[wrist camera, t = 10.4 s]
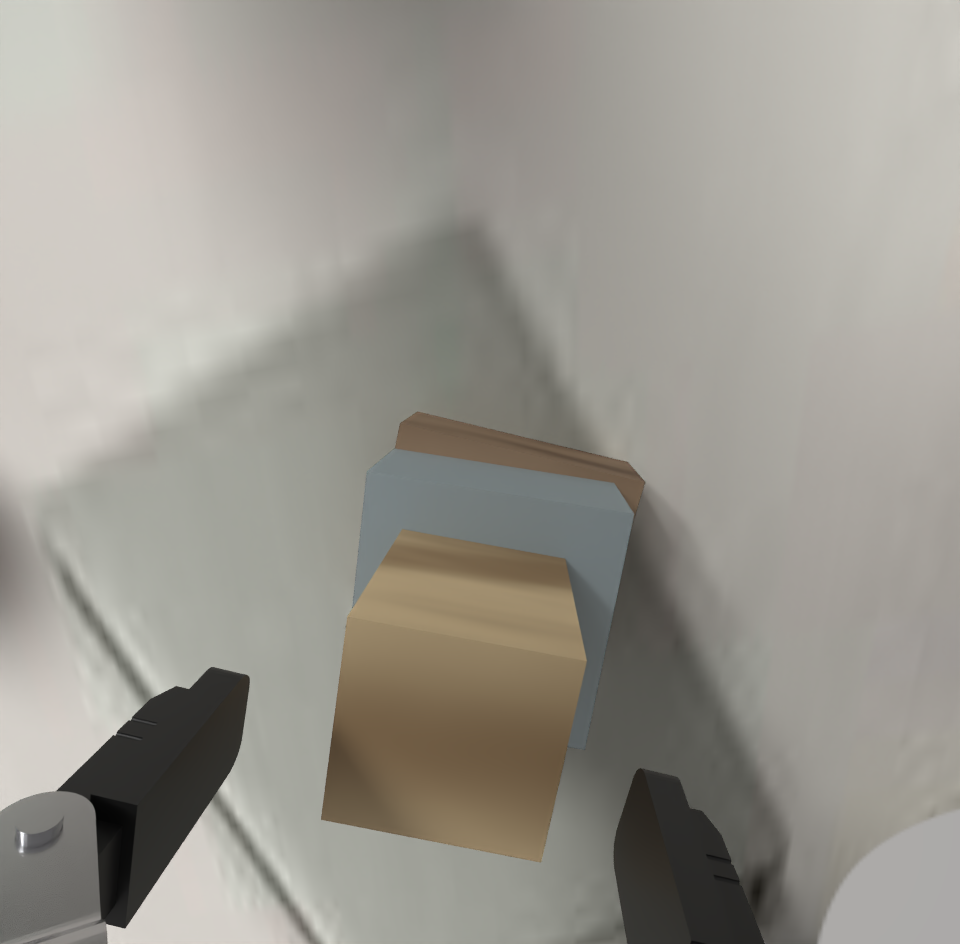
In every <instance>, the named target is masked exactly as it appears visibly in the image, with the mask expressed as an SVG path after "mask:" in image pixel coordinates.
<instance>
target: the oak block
mask: <svg viewBox="0 0 960 944" xmlns="http://www.w3.org/2000/svg"><path fill="white" fill-rule="evenodd" d="M586 663H587V659H586V654H585V650H584V645H583V640H582V635H581V631H580V626H579V621H578V616H577V612H576V607H575V602H574V597H573V593H572V588H571V583H570V578H569V574H568V569H567V564H566V560H565V559H564V558H559V557H553V556H548V555H542V554H537V553H531V552H526V551H520V550H515V549H509V548H504V547H498V546H493V545H487V544H482V543H476V542H471V541H465V540H460V539H454V538H449V537H443V536H438V535H432V534H427V533H421V532H415V531H410V530H404V529H402V530H401V532H400V533H399V535H398V537H397V538H396V540H395V541H394V543H393V545H392V546H391V548H390V549H389V551H388V553H387V554H386V556H385V557H384V559H383V561H382V562H381V564H380V565H379V567H378V569H377V570H376V572H375V573H374V575H373V577H372V578H371V580H370V581H369V583H368V585H367V586H366V588H365V589H364V591H363V593H362V594H361V596H360V597H359V599H358V601H357V602H356V604H355V605H354V607H353V609H352V610H351V612H350V613H349V615H348V616H347V624H346V631H345V639H344V647H343V654H342V662H341V670H340V677H339V685H338V693H337V701H336V708H335V716H334V724H333V731H332V739H331V747H330V754H329V762H328V770H327V778H326V785H325V793H324V801H323V808H322V816H321V820H326V821H331V822H336V823H341V824H346V825H351V826H357V827H362V828H367V829H372V830H377V831H382V832H387V833H392V834H398V835H403V836H408V837H413V838H418V839H423V840H428V841H433V842H439V843H444V844H449V845H454V846H459V847H464V848H469V849H475V850H480V851H485V852H490V853H495V854H500V855H505V856H510V857H516V858H521V859H526V860H531V861H536V862H541V860H542V856H543V852H544V847H545V843H546V839H547V834H548V830H549V825H550V821H551V817H552V812H553V808H554V803H555V799H556V795H557V790H558V786H559V782H560V777H561V773H562V768H563V764H564V760H565V755H566V751H567V746H568V742H569V738H570V733H571V729H572V725H573V720H574V716H575V711H576V707H577V703H578V698H579V694H580V689H581V685H582V681H583V676H584V672H585V668H586Z"/></svg>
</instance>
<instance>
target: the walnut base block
mask: <svg viewBox="0 0 960 944" xmlns="http://www.w3.org/2000/svg"><path fill="white" fill-rule="evenodd" d="M395 449H401V450H407V451H414V452H420V453H426V454H433V455H439V456H446V457H452V458H458V459H465V460H471V461H478V462H484V463H490V464H497V465H503V466H509V467H516V468H522V469H528V470H535V471H541V472H548V473H554V474H560V475H567V476H573V477H579V478H586V479H592V480H599V481H605V482H611V483H615V485H616V486H617V488H618V490H619V491H620V493H621V494H622V496H623V497H624V499H625V500H626V502H627V503H628V505H629V506H630V508H631V510H632V511H633V513H634V517H635V514H636V511H637V507H638V504H639V501H640V498H641V494H642V491H643V488H644V484H645V482H644V480H643V479H642V478H641V477H640V476H639V475H638V473H637V472H636V471H635V470H634V469H633V468H632V466H631V465H630V464H629V463H628V462H625V461H621V460H617V459H612V458H608V457H604V456H600V455H596V454H592V453H587V452H583V451H579V450H575V449H571V448H567V447H562V446H558V445H554V444H550V443H546V442H542V441H537V440H533V439H529V438H525V437H521V436H517V435H512V434H508V433H504V432H500V431H496V430H492V429H487V428H483V427H479V426H475V425H471V424H467V423H463V422H458V421H454V420H450V419H446V418H442V417H438V416H433V415H429V414H425V413H421V412H416V413H415V414H413V415H412V416H410V417H409V418H407V419H406V420H404V421H403V422H401V423H400V426H399V431H398V436H397V441H396V446H395ZM633 521H634V518H633ZM632 524H633V522H632Z"/></svg>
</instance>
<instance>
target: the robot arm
mask: <svg viewBox="0 0 960 944" xmlns="http://www.w3.org/2000/svg"><path fill="white" fill-rule="evenodd" d="M249 685H250V679H249V676H248V675H245V674H240V673H236V672H232V671H227V670H223V669H219V668H215V667H211V668H209V669H208V670H207V671H206V672H205V673H204V674H203V675H202V676H201V677H200V678H199V679H198V681H197V682H196V683H195V684H194V685H193V686H192V687H191V688H190V689H186V688H182V687H178V686H176V687H174V688H172V689H170V690H168V691H166V692H164V693H162V694H160V695H158V696H156V697H154V698H152V699H150V700H149V701H148V702H147V703H146V704H145V705H144V706H143V707H142V708H141V709H140V710H139V711H138V712H137V713H136V714H135V715H134V716H133V717H132V719H131V721H128V722H127V723H125V724H124V725H123V726H122V727H121V728H120V729H119V730H118V731H117V734H116V736H114V735H113V736H112V737H111V738H110V739H109V740H108V741H107V742H106V743H105V744H104V745H103V746H102V747H101V748H100V749H99V750H98V751H97V752H96V753H95V754H94V755H93V756H92V757H91V758H90V759H89V760H88V761H87V762H86V763H85V764H84V765H82V766H81V767H80V768H79V769H78V770H77V771H76V772H75V773H74V774H73V775H72V776H71V777H70V778H69V779H68V780H67V781H66V782H65V783H64V784H63V785H62V786H61V787H60V788H59V789H58V790H57V791H55V792H46V793H40V794H36V795H33V796H30V797H27V798H24V799H22V800H19V801H17V802H15V803H13V804H11V805H10V806H8V807H6V808H5V809H3V810H2V811H1V812H0V944H108V942H107V928H106V924H108V925H113V926H117V927H121V928H126V927H127V925H128V924H129V922H130V921H131V919H132V918H133V916H134V915H135V913H136V912H137V910H138V909H139V907H140V906H141V904H142V903H143V901H144V900H145V898H146V897H147V895H148V894H149V892H150V891H151V889H152V888H153V886H154V885H155V883H156V882H157V880H158V879H159V877H160V876H161V874H162V873H163V871H164V870H165V868H166V867H167V865H168V864H169V862H170V861H171V859H172V858H173V856H174V855H175V853H176V852H177V850H178V849H179V847H180V846H181V844H182V843H183V842H184V840H185V839H186V837H187V836H188V834H189V833H190V831H191V830H192V828H193V827H194V825H195V824H196V822H197V821H198V819H199V818H200V816H201V815H202V813H203V812H204V810H205V809H206V807H207V806H208V804H209V803H210V801H211V800H212V798H213V797H214V795H215V794H216V792H217V791H218V789H219V788H220V786H221V785H222V783H223V782H224V780H225V779H226V777H227V776H228V774H229V773H230V771H231V769H232V767H233V765H234V763H235V760H236V758H237V755H238V752H239V749H240V745H241V741H242V734H243V727H244V720H245V713H246V706H247V699H248V692H249ZM614 869H615V875H616V880H617V886H618V892H619V898H620V903H621V909H622V915H623V921H624V926H625V932H626V938H627V944H765V943H764V941H763V938H762V936H761V933H760V931H759V928H758V926H757V923H756V921H755V918H754V916H753V913H752V911H751V908H750V906H749V903H748V901H747V898H746V896H745V893H744V891H743V888H742V886H740V885H739V878H738V876H737V873H736V871H735V868H734V866H733V865H731V858H730V856H729V853H728V851H727V848H726V846H725V843H724V841H723V838H722V836H721V834H720V833H719V832H718V830H717V829H716V828H715V827H714V825H713V824H712V823H711V822H710V820H709V819H708V818H707V817H706V815H705V814H704V813H703V812H702V811H699V810H695V809H691V808H689V805H688V802H687V800H686V797H685V794H684V791H683V788H682V785H681V783H680V780H679V779H678V778H677V777H675V776H670V775H666V774H662V773H658V772H653V771H649V770H645V769H641V768H640V769H638V770H637V771H636V773H635V775H634V778H633V781H632V784H631V787H630V790H629V793H628V797H627V800H626V803H625V806H624V809H623V812H622V815H621V818H620V822H619V825H618V828H617V831H616V836H615V842H614Z"/></svg>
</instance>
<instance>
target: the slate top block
mask: <svg viewBox="0 0 960 944" xmlns="http://www.w3.org/2000/svg"><path fill="white" fill-rule="evenodd" d="M633 518H634V513H633V511H632V510H631V508H630V506H629V505H628V503H627V502H626V500H625V499H624V497H623V496H622V494H621V493H620V491H619V490H618V488H617V486H616V485H615V483H611V482H605V481H599V480H592V479H586V478H579V477H573V476H567V475H560V474H554V473H548V472H541V471H535V470H528V469H522V468H516V467H509V466H503V465H497V464H490V463H484V462H478V461H471V460H465V459H458V458H452V457H446V456H439V455H433V454H426V453H420V452H414V451H407V450H401V449H395V448H394V449H393V450H392V451H391V452H390V453H388V454H387V455H386V456H385V457H384V458H382V459H381V460H380V461H379V462H378V463H376V464H375V465H374V466H373V467H372V468H370V469H369V470H368V471H367V475H366V484H365V494H364V503H363V512H362V522H361V531H360V540H359V550H358V559H357V568H356V578H355V587H354V596H353V606H352V609H353V607H354V605H355V604H356V602H357V601H358V599H359V597H360V596H361V594H362V593H363V591H364V589H365V588H366V586H367V585H368V583H369V581H370V580H371V578H372V577H373V575H374V573H375V572H376V570H377V569H378V567H379V565H380V564H381V562H382V561H383V559H384V557H385V556H386V554H387V553H388V551H389V549H390V548H391V546H392V545H393V543H394V541H395V540H396V538H397V537H398V535H399V533H400V532H401V530H402V529H404V530H410V531H415V532H421V533H427V534H432V535H438V536H443V537H449V538H454V539H460V540H465V541H471V542H476V543H482V544H487V545H493V546H498V547H504V548H509V549H515V550H520V551H526V552H531V553H537V554H542V555H548V556H553V557H559V558H564V559H565V560H566V564H567V569H568V574H569V578H570V583H571V588H572V593H573V597H574V602H575V607H576V612H577V616H578V621H579V626H580V631H581V635H582V640H583V645H584V650H585V654H586V659H587V663H586V668H585V672H584V676H583V681H582V685H581V689H580V694H579V698H578V703H577V707H576V711H575V716H574V720H573V725H572V729H571V733H570V738H569V742H568V746H567V747H570V748H576V749H582V750H585V747H586V742H587V737H588V732H589V728H590V723H591V718H592V713H593V709H594V704H595V699H596V694H597V689H598V685H599V680H600V675H601V670H602V666H603V661H604V656H605V651H606V646H607V642H608V637H609V632H610V627H611V623H612V618H613V613H614V608H615V603H616V599H617V594H618V589H619V584H620V580H621V575H622V570H623V565H624V560H625V556H626V551H627V546H628V541H629V537H630V532H631V527H632V522H633Z"/></svg>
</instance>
